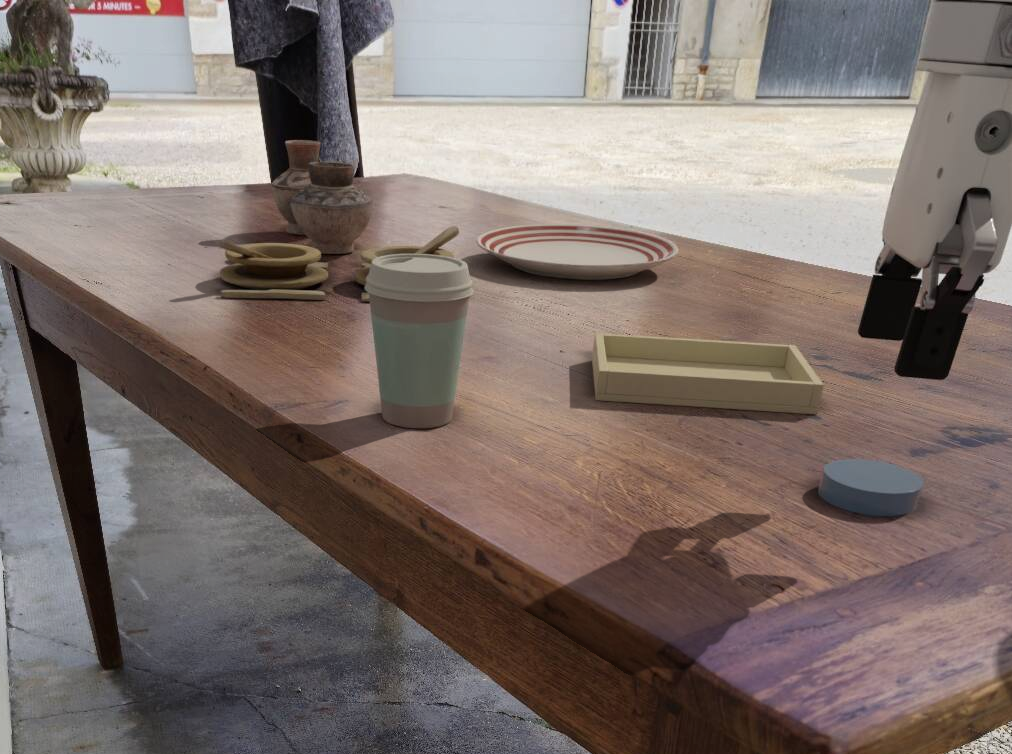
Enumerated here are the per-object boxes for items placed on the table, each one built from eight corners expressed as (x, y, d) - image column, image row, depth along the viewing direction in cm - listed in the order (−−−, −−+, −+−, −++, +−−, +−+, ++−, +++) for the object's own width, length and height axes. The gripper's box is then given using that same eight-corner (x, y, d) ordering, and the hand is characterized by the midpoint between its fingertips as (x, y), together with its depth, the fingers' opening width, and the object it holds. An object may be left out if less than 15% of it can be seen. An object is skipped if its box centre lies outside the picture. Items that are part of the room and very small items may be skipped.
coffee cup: (432, 397, 92) (436, 249, 85) (487, 425, 86) (496, 268, 79) (347, 410, 88) (344, 256, 81) (399, 440, 82) (400, 277, 75)
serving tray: (789, 372, 103) (795, 345, 102) (816, 414, 92) (824, 384, 91) (591, 359, 104) (594, 332, 103) (595, 400, 93) (599, 370, 92)
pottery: (331, 226, 162) (329, 138, 155) (384, 257, 144) (384, 158, 137) (260, 228, 159) (255, 138, 152) (305, 260, 140) (301, 158, 133)
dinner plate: (630, 297, 128) (634, 268, 127) (439, 268, 139) (439, 240, 137) (701, 264, 148) (706, 239, 146) (529, 240, 159) (531, 216, 157)
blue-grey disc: (900, 490, 78) (908, 461, 76) (926, 526, 72) (935, 496, 71) (807, 484, 78) (814, 455, 77) (826, 520, 72) (834, 489, 71)
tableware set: (454, 270, 138) (456, 220, 135) (469, 304, 122) (471, 248, 119) (227, 265, 135) (223, 214, 132) (212, 299, 119) (207, 242, 116)
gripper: (1126, 54, 52) (1000, 400, 62) (1005, 48, 66) (919, 330, 76) (974, 43, 52) (873, 389, 62) (886, 39, 66) (815, 321, 76)
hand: (898, 356), depth 69 cm, fingers open, 9 cm apart
